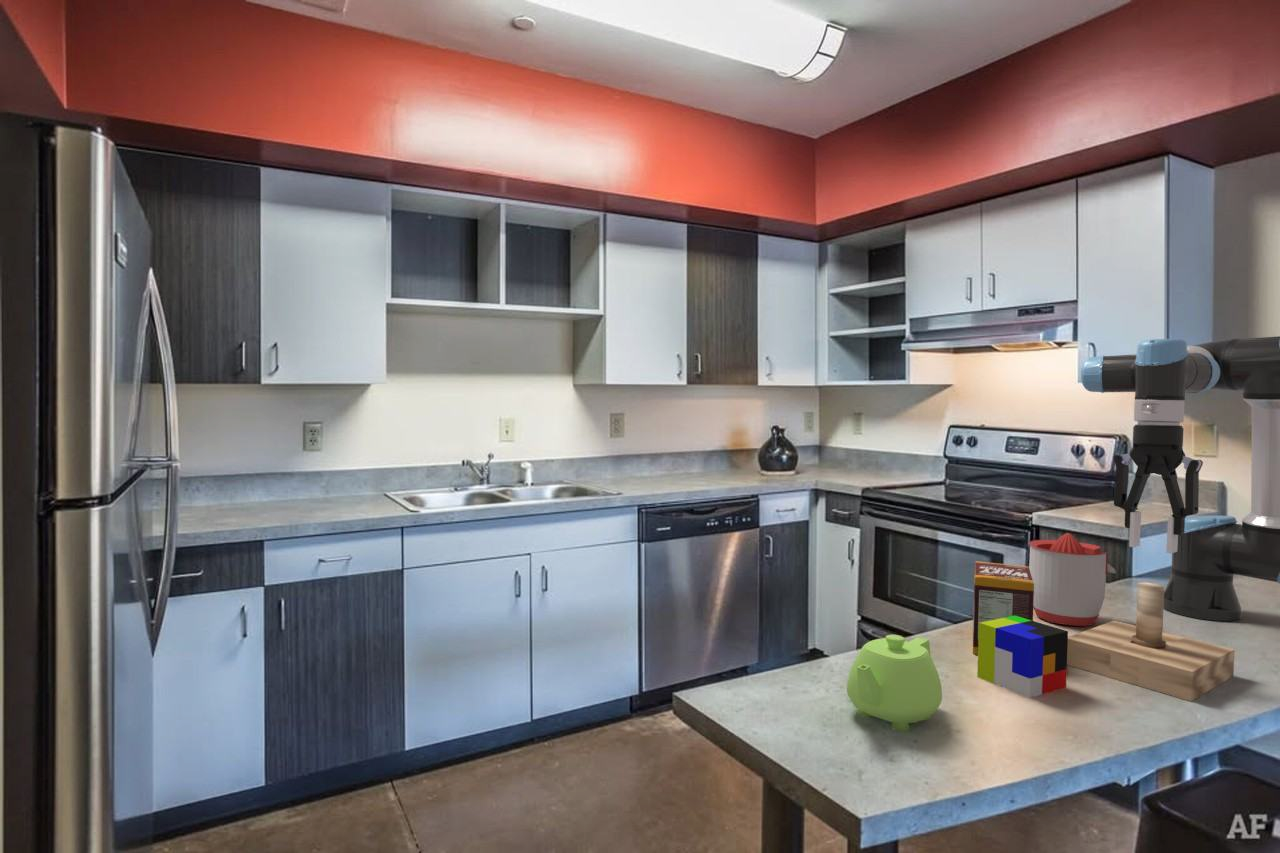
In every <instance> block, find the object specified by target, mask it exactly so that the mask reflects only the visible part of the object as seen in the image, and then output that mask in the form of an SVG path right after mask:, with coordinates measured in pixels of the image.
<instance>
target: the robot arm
mask: <svg viewBox="0 0 1280 853" xmlns="http://www.w3.org/2000/svg"><path fill="white" fill-rule="evenodd" d="M1080 369H1081V370H1080V382H1081V384H1082V386H1083V388H1084V389H1085V390H1086V391H1088V392H1092V393H1101V394H1105V393H1134V406H1133V407H1134V408H1133V410H1134V411H1133V420H1134V422H1137V424H1134V426H1133V427H1132V428H1133V429H1132V448H1131V450H1130V451H1129V453H1124V454H1115V455H1114V456H1113V460H1114V464H1115V481H1114V482H1115V483H1114V495H1113V505H1114V507H1117V508H1120V509H1123V511H1124V528H1125V529H1129V537H1128V538H1129V539H1128V540H1129V541H1128V547H1130V548H1136V547H1141V524H1142V511H1139V510H1138V509H1139V506H1138V505H1139V504H1140V501H1141V498H1142V496H1143V492H1144V490H1145V486H1146V485H1147V482H1148V479H1149V478H1150V476H1151V475H1153V474H1155V475H1159V476H1161V479H1162V481H1163V482H1164V485H1165V489H1166V494H1167V497H1168V501H1169V504H1170V508H1171V512H1172V514H1171V515H1170V516H1168V517H1167V526H1166V527H1167V530H1166V531H1167V532H1166V553H1168V554H1171V575H1170V578H1169V580H1168V582H1167V584H1166V587H1165V588H1164V608H1163V610H1165V611H1168V612H1171V613H1174V614H1178V615H1180V616H1185V617H1189V618H1194V619H1201V620H1209V621H1218V622H1234V621H1239V620H1241V618H1242V606H1241V604H1240V602H1239V598H1238V596H1237V595H1238V594H1237V592H1236V589H1235V586H1234V575H1237V576H1242V577H1248V578H1252V579H1256V580H1257V579H1258V580H1264V581H1269V582H1274V583H1277V584H1280V335H1279V336H1267V337H1266V336H1265V337H1264V336H1263V337H1249V338H1248V337H1247V338H1229V339H1220V340H1214V341H1210V342H1205V343H1199V344H1198V343H1197V344H1195V345H1188V344H1187V341H1186V340H1184V339H1180V338H1158V339H1157V338H1156V339H1155V338H1154V339H1145V340H1142V341H1140V342H1139V343H1138V345H1137V350H1136V353H1135V354H1134V353H1133V354H1122V355H1121V354H1120V355H1119V354H1118V355H1099V356H1092V357H1088V358H1087V359H1086V360H1085V361H1084V362H1083V363H1082V366H1081V368H1080ZM1210 389H1211V390H1220V391H1221V390H1222V391H1242V400H1243V401H1244V402H1245V403H1247V404H1248V405H1249V406H1250V407H1251V464H1250V465H1251V467H1250V468H1251V469H1250V470H1251V472H1250V474H1251V475H1250V476H1251V480H1250V481H1251V482H1250V484H1251V485H1250V487H1251V489H1250V492H1251V493H1250V494H1251V495H1250V497H1251V498H1250V505H1251V506H1250V508H1251V509H1250V511H1251V512H1250V513H1249V514H1247V515H1245V516H1244V517H1243V518H1242V519H1241V520H1242V521H1241V522H1242V523H1241V524H1240V523H1238V521H1237V518H1236V517H1235V516H1229V515H1213V514H1212V515H1211V514H1209V515H1197V514H1198V513H1199V492H1200V491H1199V490H1200V488H1199V486H1200V484H1199V483H1200V482H1199V479H1200V477H1199V474H1200V471H1201V469H1202V467H1203V463H1204V461H1202V459H1194V458H1191V457H1188V456H1186V454H1185V452H1184V450H1183V447H1184V446H1183V445H1184V427H1183V426H1182V425H1181V424H1180V423H1183V422H1184V421H1185V402H1186V400H1185V399H1186V394H1197V393H1203V392H1206V391H1208V390H1210ZM1131 461H1133V462H1134V464H1135V465H1136V466H1137V468H1136V471H1135V474H1134V480H1133V482H1132V484H1131V488H1130V489H1129V490H1130V491H1129V493H1128V486H1129V485H1128V484H1129V473H1130V468H1129V465H1130V464H1131ZM1182 463H1183V468H1184V469H1185V477H1184V478H1185V480H1184V481H1185V482H1184V483H1185V484H1184V485H1185V488H1184V495H1185V496H1184V500H1183V496H1182V493H1181V490H1180V486H1179V482H1178V474H1177V470H1176V469H1177V468H1179V466H1180V465H1181V464H1182Z"/></svg>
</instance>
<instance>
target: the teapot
mask: <svg viewBox="0 0 1280 853" xmlns="http://www.w3.org/2000/svg"><path fill="white" fill-rule="evenodd" d="M931 653H932V652H931V647H930V639H927V638H924V637H920V636H917V637H915V638H914V639H911V640H910V641H907V640H906V638H905V637H903V636H902V635H897V634H888V635H885V637H883V638H877V639H873V640H870V641H868V642H866V643H865V644H864V645H862V647H861V648H860V650H859V652H858V654H857V656H856V657H855V659H854V662H853V663H852V666H851V668H850V671H849V673H848V674H849V675H848V677H847V678H848V679H847V683H846V693H847V696H848V698H849V699H850V701H851V703H852V704H853V705H854V707H855V708H856V709H857V710H858V711H857V712H856V715H858V716H859V717H861V718H867V719H869V718H873V717H875V718H878V719H880V720H884V721H887V722H890V723H891V724H892V725H891V727H892V729H893V730H895V731H897V732H901V733H906V732H909V731H911V728H910V726H909V724H912V723H913V724H914V723H917V722H918V723H919V722H922V721H930V719H931V716H932V715H933V714H934V713H935V712H936V711H937V710H938V708H939V707H940V706H941V704H942V700H943V691H942V683H941V679H940V675H939V673H938V669H937V667H936V665H935V662H934V661H933V659H932V654H931Z"/></svg>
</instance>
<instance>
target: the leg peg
mask: <svg viewBox="0 0 1280 853" xmlns="http://www.w3.org/2000/svg"><path fill="white" fill-rule="evenodd" d="M1164 591H1165V586H1164V585H1161V584H1160V583H1159V584H1158V583H1154V582H1141V581H1140V582H1138V583H1137V599H1136V604H1137V605H1136V623H1135V626H1136V635H1133V636H1132V642H1133V643H1135V644H1137V645H1140V646H1144V647H1149V648H1154V649H1160V648H1165V647H1166V641H1164V640H1162V632H1163V626H1164Z"/></svg>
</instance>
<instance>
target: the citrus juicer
mask: <svg viewBox="0 0 1280 853" xmlns="http://www.w3.org/2000/svg"><path fill="white" fill-rule="evenodd" d="M1028 545H1029V564H1028V565H1029V566H1028V567H1029V570H1030V573H1031V576H1032V579H1033V582H1034V604H1033V611H1034V613H1035V614H1036V617H1038V618H1040V619H1042V620H1044V621H1046V622H1047V621H1048V622H1047V623H1049V622H1051V623H1050V624H1060V625H1065V626H1074V627H1075V626H1077V627H1078V626H1079V627H1083V628H1084V627H1085V628H1086V627H1089V626H1093V625H1095V623H1096V621H1097V619H1098V618H1099V616H1100V612H1101V609H1102V607H1103V605H1104V602H1105V601H1104V600H1105V596H1106V595H1105V594H1106V580H1107V575H1108V573H1110V574H1113V575H1117V571H1116V569H1115V568H1114V567H1113V566H1111V565H1110V564H1109V563H1108V562H1109V561H1108V559H1109V558H1108V557H1109V552H1108V551H1106V552H1102V547H1101V546H1099V545H1096V544H1090V543H1085V542H1080V541H1079V540H1078V539H1077V538H1075V536H1073V535H1072V533H1069V532H1067V533H1064V534H1063V535H1061V536H1060V537H1059V538H1058V539H1035V540H1030V541H1029V542H1028Z"/></svg>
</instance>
